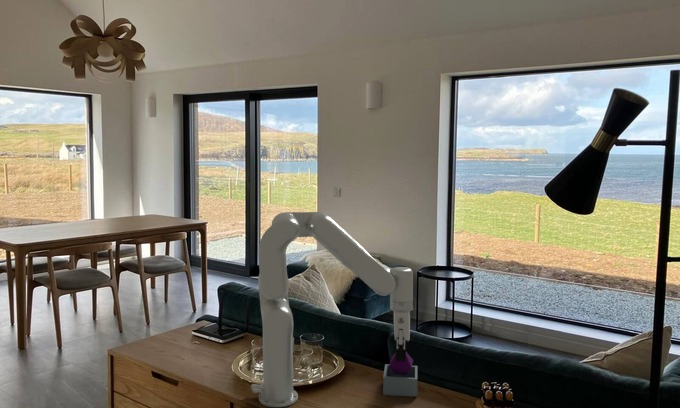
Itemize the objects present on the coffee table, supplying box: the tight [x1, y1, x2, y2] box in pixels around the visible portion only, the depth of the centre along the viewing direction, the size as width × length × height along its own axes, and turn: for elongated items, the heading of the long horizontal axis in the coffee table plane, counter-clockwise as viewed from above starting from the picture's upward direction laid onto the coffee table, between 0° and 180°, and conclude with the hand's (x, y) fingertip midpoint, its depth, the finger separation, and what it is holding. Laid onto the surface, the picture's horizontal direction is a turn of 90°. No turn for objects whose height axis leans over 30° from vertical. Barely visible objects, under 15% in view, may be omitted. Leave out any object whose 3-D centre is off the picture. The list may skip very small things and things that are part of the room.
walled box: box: [382, 363, 418, 398], centre depth 190 cm, size 11×11×6 cm
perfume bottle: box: [389, 337, 414, 375], centre depth 188 cm, size 8×8×18 cm
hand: (401, 356), depth 189 cm, fingers closed on perfume bottle, 4 cm apart
